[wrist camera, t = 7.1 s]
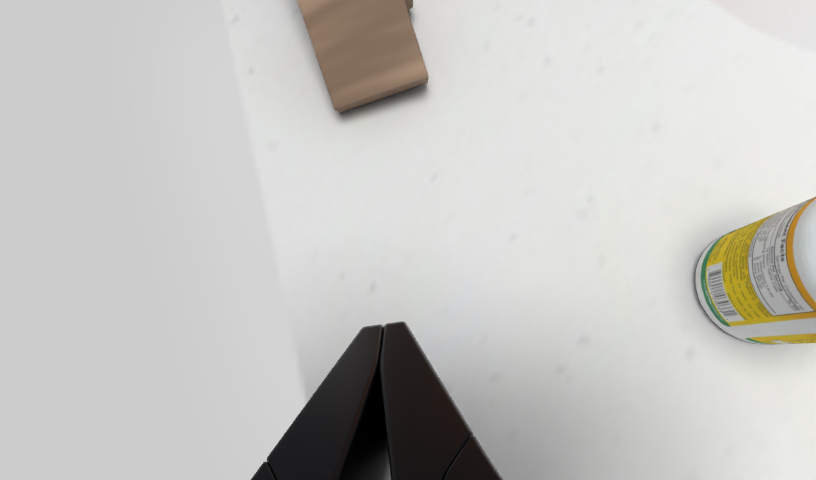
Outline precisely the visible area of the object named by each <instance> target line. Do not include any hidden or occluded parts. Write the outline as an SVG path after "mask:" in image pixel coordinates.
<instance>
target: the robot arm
mask: <svg viewBox="0 0 816 480" xmlns="http://www.w3.org/2000/svg"><path fill="white" fill-rule="evenodd" d="M251 480H503V479H502V477H501V476H500V475H499V473H498V472H497V470H496V469H495V467H494V466H493V464H492V462H491V461H490V459H489V458H488V456H487V455H486V453H485V452H484V450H483V449H482V447H481V445H480V444H479V442H478V440H477V439H476V437H475V436H473V433H472V431H471V429H470V428H469V426H468V424H467V423H466V421H465V419H464V418H463V416H462V415H461V413H460V411H459V410H458V408H457V406H456V405H455V403H454V401H453V400H452V398H451V396H450V395H449V393H448V392H447V390H446V388H445V387H444V385H443V383H442V382H441V380H440V378H439V377H438V375H437V373H436V372H435V370H434V368H433V367H432V365H431V364H430V362H429V360H428V359H427V357H426V355H425V354H424V352H423V350H422V349H421V347H420V345H419V344H418V342H417V341H416V339H415V337H414V336H413V334H412V332H411V331H410V329H409V327H408V326H407V324H406V323H405V322H395V323H388V324H386V325H385V326H383V325H374V326H367V327H363V328H362V329H361V330H360V332H359V333H358V334H357V336H356V337H355V338H354V340H353V341H352V343H351V344H350V345H349V347H348V348H347V349H346V351H345V352H344V353H343V355H342V356H341V358H340V359H339V360H338V362H337V363H336V364H335V366H334V367H333V369H332V370H331V371H330V373H329V374H328V375H327V377H326V378H325V379H324V381H323V382H322V384H321V385H320V386H319V388H318V389H317V390H316V392H315V393H314V394H313V396H312V397H311V399H310V400H309V401H308V403H307V404H306V405H305V407H304V408H303V410H302V411H301V412H300V414H299V415H298V416H297V418H296V419H295V420H294V422H293V424H292V425H291V426H290V427H289V429H288V430H287V432H286V433H285V434H284V436H283V437H282V438H281V440H280V441H279V442H278V444H277V445H276V446H275V448H274V449H273V451H272V452H271V453H270V455H269V456H268V457H267V462H264V463H263V464H262V465H261V467H260V468H259V469H258V471H257V472H256V474H255V475H254V476H253V478H252V479H251Z"/></svg>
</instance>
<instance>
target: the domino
mask: <svg viewBox="0 0 816 480" xmlns="http://www.w3.org/2000/svg"><path fill="white" fill-rule="evenodd" d="M298 3H299V6H300V9H301V12H302V15H303V18H304V21H305V24H306V27H307V30H308V33H309V36H310V38H311V41H312V44H313V47H314V50H315V53H316V56H317V59H318V62H319V65H320V68H321V71H322V74H323V77H324V80H325V82H326V85H327V88H328V91H329V94H330V97H331V100H332V103H333V106H334V109H335V110H337V111H338V112H339V113H340V112H343V111H346V110H349V109H352V108H355V107H358V106H361V105H364V104H367V103H369V102H372V101H375V100H378V99H381V98H384V97H387V96H390V95H393V94H396V93H399V92H402V91H404V90H407V89H410V88H413V87H416V86H419V85H422V84H425V83H427V82H428V74H427V70H426V67H425V64H424V61H423V58H422V54H421V51H420V48H419V45H418V42H417V38H416V35H415V32H414V29H413V26H412V22H411V19H410V16H409V13H408V10H407V6H406V3H405V0H298Z"/></svg>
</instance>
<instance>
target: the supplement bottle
mask: <svg viewBox="0 0 816 480" xmlns="http://www.w3.org/2000/svg"><path fill="white" fill-rule="evenodd" d="M696 290H697V294H698V297H699V300H700V302H701V304H702V306H703V308H704V310H705V311H706V313H707V314H708V316H709V317H710V318H711V319H712V320H713V321H714V322H715V323H716V324H717V325H718V326H719V327H720V328H721V329H723V330H724V331H726V332H727V333H729V334H730V335H732V336H734V337H736V338H739V339H741V340H743V341H747V342H751V343H757V344H796V343H816V197H814V198H812V199H810V200H807V201H805V202H802V203H800V204H798V205H795V206H793V207H790V208H788V209H785V210H783V211H781V212H778V213H776V214H773V215H771V216H769V217H766V218H764V219H761V220H759V221H757V222H754V223H752V224H750V225H747V226H745V227H742V228H740V229H737V230H735V231H732V232H730V233H728V234H726V235H724V236H722V237H720V238H718V239H716V240H715V241H714V242H712V243H711V244H710V245H709V246H708V247H707V248H706V250H705V251H704V253H703V254H702V256H701V258H700V260H699V262H698V265H697V269H696Z"/></svg>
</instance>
